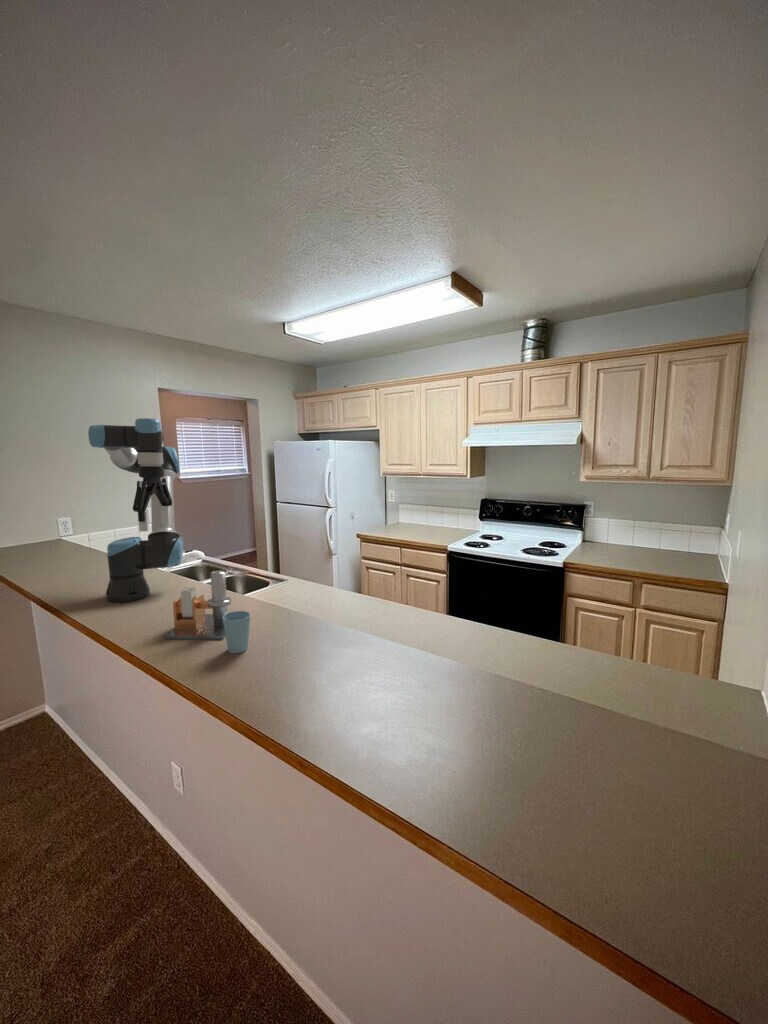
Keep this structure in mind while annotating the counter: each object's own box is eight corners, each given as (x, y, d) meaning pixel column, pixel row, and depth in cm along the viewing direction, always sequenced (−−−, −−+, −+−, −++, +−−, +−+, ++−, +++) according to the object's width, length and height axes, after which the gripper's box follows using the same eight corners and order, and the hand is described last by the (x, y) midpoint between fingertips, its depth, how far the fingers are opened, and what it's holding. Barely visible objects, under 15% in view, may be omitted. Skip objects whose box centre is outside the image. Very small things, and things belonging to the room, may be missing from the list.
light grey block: (187, 622, 142) (185, 588, 141) (197, 622, 142) (195, 588, 141) (182, 626, 139) (180, 591, 137) (193, 627, 139) (191, 591, 137)
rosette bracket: (191, 616, 150) (188, 564, 147) (242, 617, 150) (240, 564, 147) (165, 638, 132) (161, 579, 130) (222, 639, 132) (219, 580, 129)
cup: (248, 641, 131) (247, 608, 129) (254, 651, 124) (253, 617, 123) (222, 646, 127) (220, 613, 126) (227, 657, 120) (225, 622, 119)
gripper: (159, 464, 156) (163, 521, 159) (116, 466, 131) (122, 534, 134) (180, 464, 156) (183, 521, 159) (140, 466, 131) (145, 534, 134)
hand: (155, 527), depth 146 cm, fingers open, 13 cm apart
